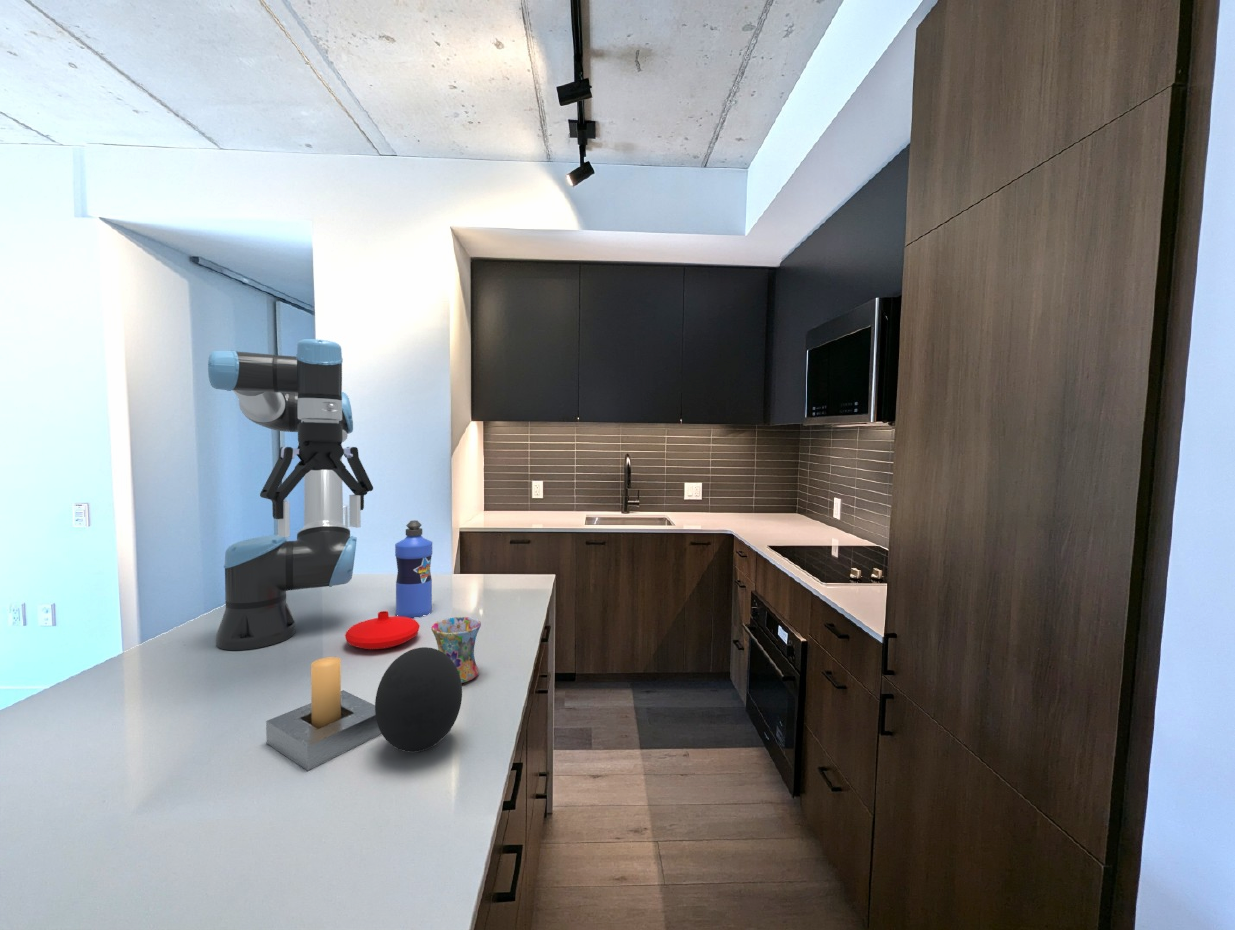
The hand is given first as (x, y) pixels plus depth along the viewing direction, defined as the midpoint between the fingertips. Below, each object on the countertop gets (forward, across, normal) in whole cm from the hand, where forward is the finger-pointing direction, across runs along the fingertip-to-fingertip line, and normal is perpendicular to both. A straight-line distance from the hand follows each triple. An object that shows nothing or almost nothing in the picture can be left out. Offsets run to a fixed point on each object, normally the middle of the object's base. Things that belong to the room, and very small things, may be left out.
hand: (321, 531), depth 101 cm
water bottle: (+29, +34, +18) cm, 48 cm away
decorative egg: (+29, -5, -36) cm, 46 cm away
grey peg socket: (+29, -11, -22) cm, 38 cm away
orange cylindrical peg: (+29, -11, -22) cm, 38 cm away
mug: (+29, +15, -21) cm, 39 cm away
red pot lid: (+29, +17, +6) cm, 34 cm away
